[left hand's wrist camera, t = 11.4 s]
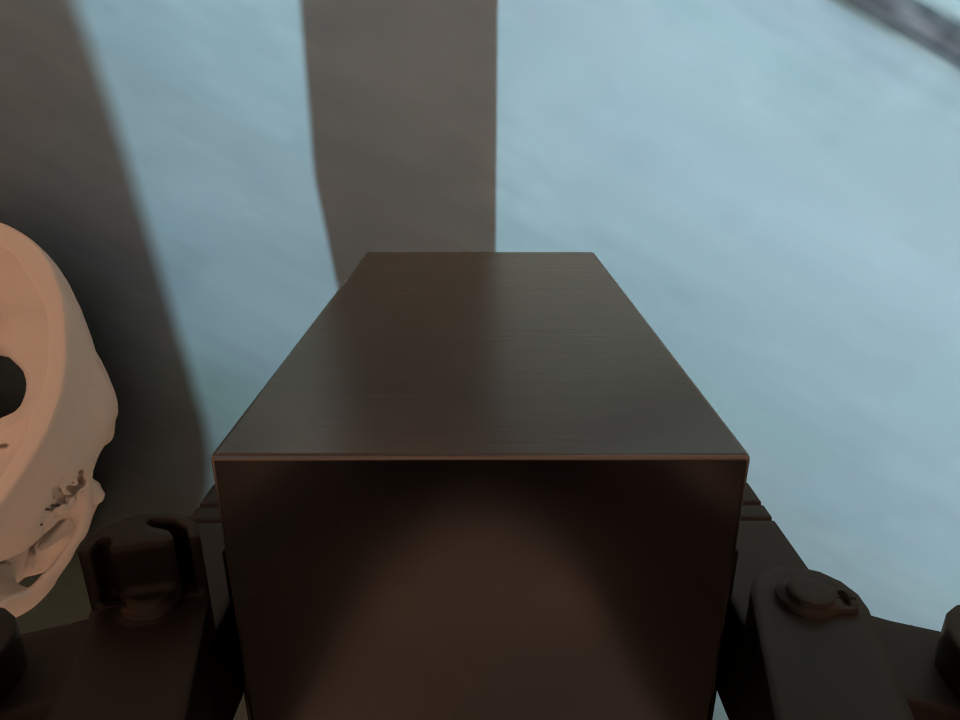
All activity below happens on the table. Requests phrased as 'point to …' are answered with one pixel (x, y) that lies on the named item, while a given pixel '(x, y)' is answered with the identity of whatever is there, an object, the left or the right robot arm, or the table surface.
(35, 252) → the skull bowl
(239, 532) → the bar
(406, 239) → the table surface
